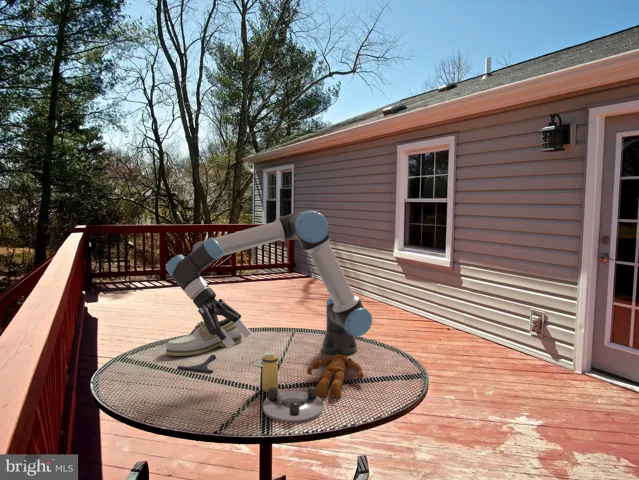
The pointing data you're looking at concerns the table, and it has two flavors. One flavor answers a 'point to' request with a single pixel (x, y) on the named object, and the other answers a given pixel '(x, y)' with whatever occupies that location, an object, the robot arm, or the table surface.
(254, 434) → the table surface
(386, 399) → the table surface
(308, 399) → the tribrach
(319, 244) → the robot arm
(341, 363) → the toy
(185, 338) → the boat shoe
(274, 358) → the travel mug
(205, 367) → the bracket
